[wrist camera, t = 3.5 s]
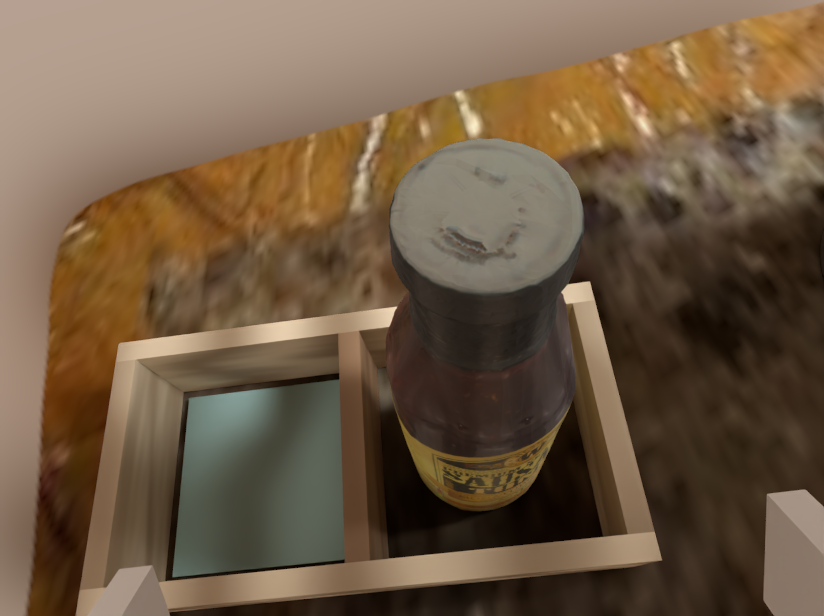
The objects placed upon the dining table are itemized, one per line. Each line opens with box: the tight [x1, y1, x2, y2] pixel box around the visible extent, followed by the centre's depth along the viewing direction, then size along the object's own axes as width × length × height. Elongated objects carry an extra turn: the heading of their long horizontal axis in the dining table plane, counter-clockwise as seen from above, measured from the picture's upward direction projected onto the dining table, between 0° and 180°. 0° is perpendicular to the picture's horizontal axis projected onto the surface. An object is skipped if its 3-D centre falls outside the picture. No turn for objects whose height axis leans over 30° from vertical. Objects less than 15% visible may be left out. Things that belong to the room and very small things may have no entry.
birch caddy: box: [76, 281, 662, 616], centre depth 27 cm, size 23×12×5 cm, turn 95°
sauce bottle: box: [386, 139, 584, 511], centre depth 20 cm, size 7×6×20 cm
